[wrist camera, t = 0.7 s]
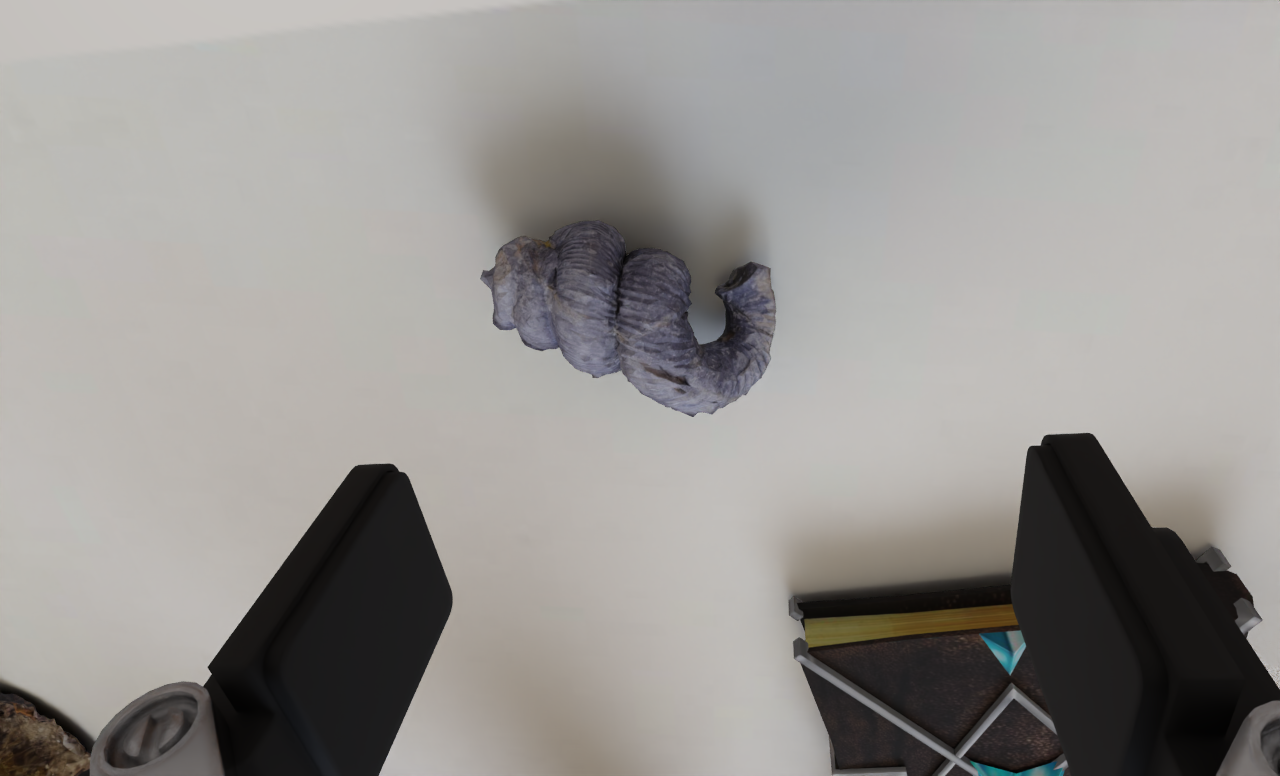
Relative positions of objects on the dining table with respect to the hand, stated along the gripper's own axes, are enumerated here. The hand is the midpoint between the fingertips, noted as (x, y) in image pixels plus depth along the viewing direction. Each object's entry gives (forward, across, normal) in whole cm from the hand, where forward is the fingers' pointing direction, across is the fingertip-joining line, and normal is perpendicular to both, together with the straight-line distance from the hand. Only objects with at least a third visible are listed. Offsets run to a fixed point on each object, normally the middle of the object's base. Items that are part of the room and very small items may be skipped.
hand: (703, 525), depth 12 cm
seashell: (+16, +4, +3) cm, 17 cm away
